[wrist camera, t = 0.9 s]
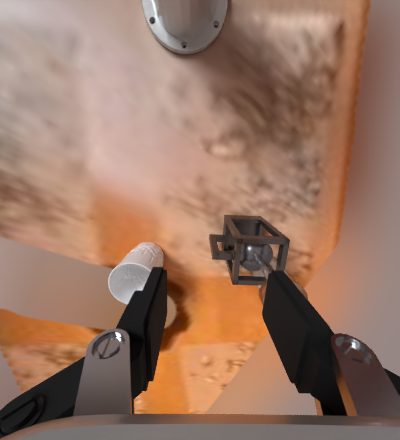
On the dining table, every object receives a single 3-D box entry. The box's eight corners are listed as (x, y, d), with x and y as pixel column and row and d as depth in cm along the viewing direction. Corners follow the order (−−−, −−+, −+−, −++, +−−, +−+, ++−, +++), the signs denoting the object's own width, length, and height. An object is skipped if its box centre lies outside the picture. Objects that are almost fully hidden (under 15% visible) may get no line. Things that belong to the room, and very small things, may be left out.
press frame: (209, 214, 38) (215, 237, 26) (260, 216, 38) (289, 239, 26) (207, 247, 40) (212, 283, 28) (256, 249, 40) (281, 285, 28)
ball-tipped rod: (239, 237, 29) (263, 278, 18) (273, 238, 29) (316, 280, 18) (236, 267, 30) (256, 322, 20) (268, 268, 30) (306, 323, 20)
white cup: (174, 254, 40) (167, 282, 30) (152, 279, 42) (138, 313, 32) (143, 231, 39) (126, 253, 29) (122, 258, 40) (98, 287, 31)
